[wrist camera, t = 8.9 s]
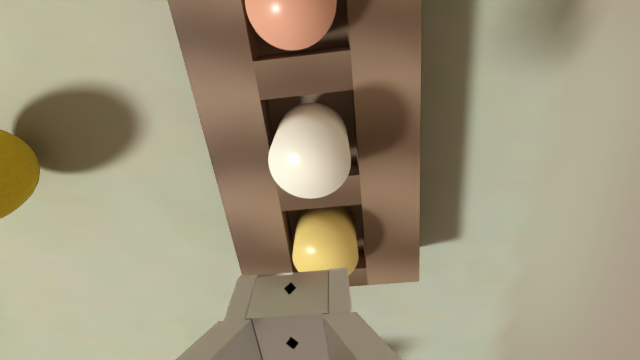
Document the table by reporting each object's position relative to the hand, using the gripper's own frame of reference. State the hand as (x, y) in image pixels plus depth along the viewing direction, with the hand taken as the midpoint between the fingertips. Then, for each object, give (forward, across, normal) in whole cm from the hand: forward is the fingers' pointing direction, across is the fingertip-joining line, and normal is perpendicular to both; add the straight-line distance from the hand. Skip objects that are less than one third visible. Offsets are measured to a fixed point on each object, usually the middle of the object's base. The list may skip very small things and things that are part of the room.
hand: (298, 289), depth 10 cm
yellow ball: (+13, 0, +7) cm, 15 cm away
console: (+15, 0, 0) cm, 15 cm away
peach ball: (+13, 0, -7) cm, 15 cm away
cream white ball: (+12, 0, 0) cm, 12 cm away
